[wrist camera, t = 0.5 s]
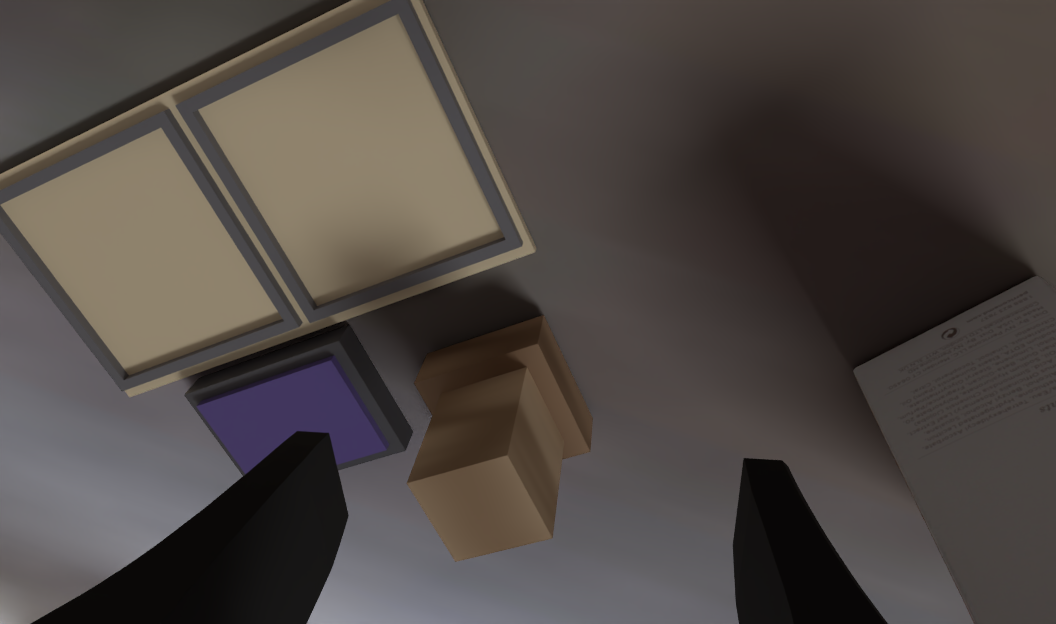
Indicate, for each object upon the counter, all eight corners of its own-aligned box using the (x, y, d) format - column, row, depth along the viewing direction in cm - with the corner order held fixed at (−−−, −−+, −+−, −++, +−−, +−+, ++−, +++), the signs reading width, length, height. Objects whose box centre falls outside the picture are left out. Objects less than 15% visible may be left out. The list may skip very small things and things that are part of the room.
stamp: (482, 444, 26) (445, 582, 21) (429, 348, 25) (374, 471, 19) (593, 412, 25) (583, 549, 20) (544, 310, 24) (519, 429, 18)
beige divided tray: (134, 392, 27) (124, 402, 26) (-23, 185, 24) (-38, 192, 23) (536, 247, 23) (534, 256, 22) (409, -29, 19) (403, -26, 19)
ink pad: (268, 475, 28) (252, 500, 27) (199, 378, 26) (179, 400, 25) (413, 431, 26) (403, 456, 25) (349, 324, 25) (335, 345, 23)
